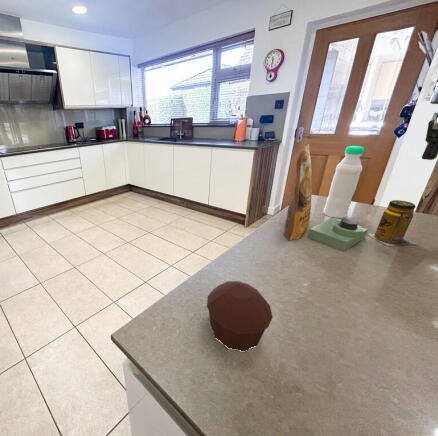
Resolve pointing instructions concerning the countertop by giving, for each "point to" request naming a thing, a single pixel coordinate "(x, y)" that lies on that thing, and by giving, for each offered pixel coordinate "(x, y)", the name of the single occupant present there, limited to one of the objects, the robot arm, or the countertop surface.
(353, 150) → the water bottle
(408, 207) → the condiment
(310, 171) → the pancake mix bag
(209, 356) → the countertop surface
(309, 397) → the countertop surface
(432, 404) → the countertop surface
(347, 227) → the pump top
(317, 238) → the dispenser base
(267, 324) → the muffin
